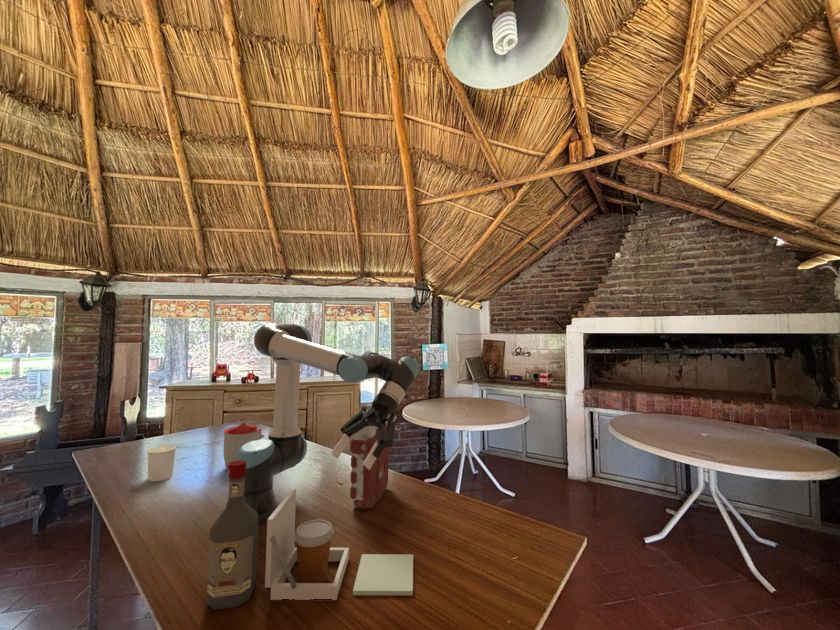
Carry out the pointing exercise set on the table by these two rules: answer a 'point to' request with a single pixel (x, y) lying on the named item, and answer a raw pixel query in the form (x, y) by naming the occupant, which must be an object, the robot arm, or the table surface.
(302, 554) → the disposable coffee cup
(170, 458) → the candle holder
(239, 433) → the citrus juicer
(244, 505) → the liquor
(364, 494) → the first aid kit
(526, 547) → the table surface
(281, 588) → the access hatch
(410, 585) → the board
